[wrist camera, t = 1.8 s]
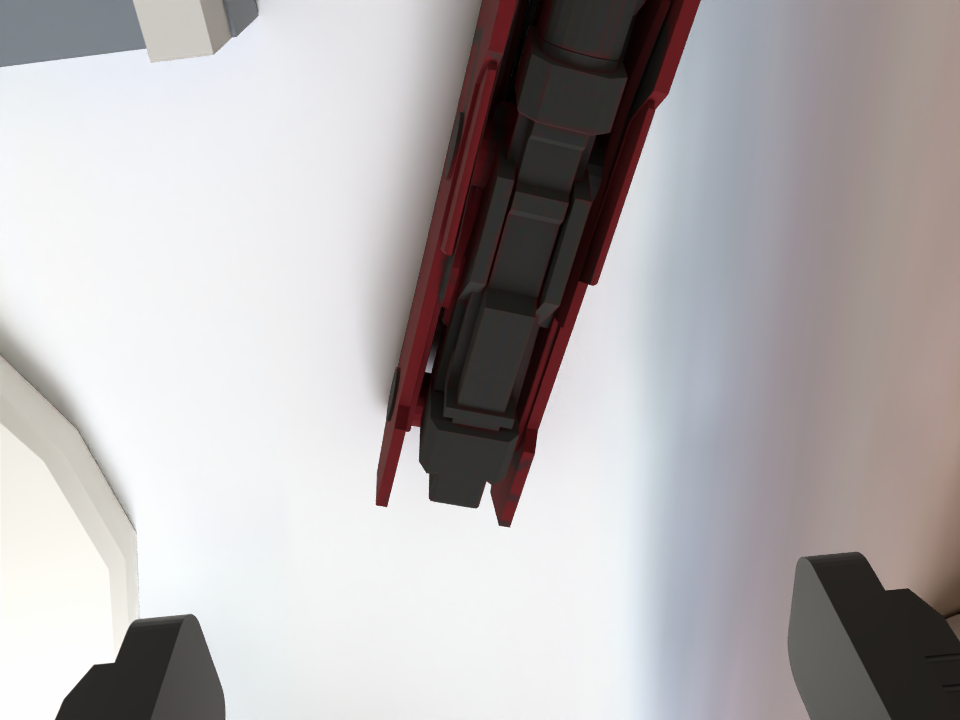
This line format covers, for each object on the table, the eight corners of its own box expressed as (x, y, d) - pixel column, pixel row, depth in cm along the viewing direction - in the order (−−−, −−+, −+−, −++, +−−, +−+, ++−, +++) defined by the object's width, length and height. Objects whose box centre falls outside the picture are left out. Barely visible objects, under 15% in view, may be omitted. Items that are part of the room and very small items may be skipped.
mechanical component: (565, -384, 20) (597, -457, 15) (751, -325, 21) (838, -376, 16) (377, 437, 31) (362, 545, 27) (502, 460, 32) (509, 570, 27)
